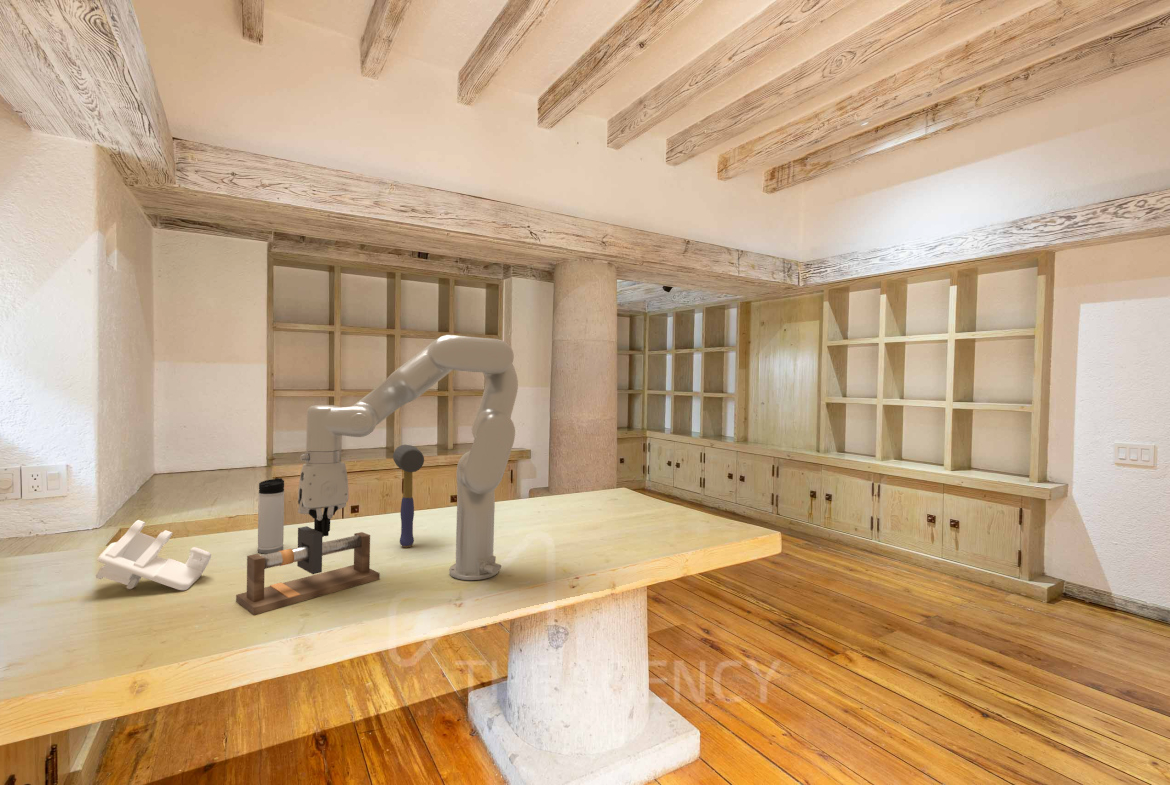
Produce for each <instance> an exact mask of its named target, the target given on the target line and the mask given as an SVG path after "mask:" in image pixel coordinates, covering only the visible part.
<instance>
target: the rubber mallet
mask: <svg viewBox="0 0 1170 785" xmlns="http://www.w3.org/2000/svg"><path fill="white" fill-rule="evenodd" d="M392 458H393V462H394V463H395V465H396V466H397V467H398V468H399V469H400V470H402V471H403V485H402V486H403V490H402V491H403V492H402V494H403V495H402V498H401V502H400V503H401V504H400V522H401V523H400V525H401V527H400V530H401V531H400V533H401V534H400V538H399V544H400V546H401V547H402V548H411V547H412V546H413V544H414V542H415V537H414V530H413V529H414V516H415V503H414V498H413V473H415V472H417V471H419V470H421V469H422V467H423V466H424V464H425V463H424V462H425V456H424V455H423V453H422V451H421V450H420V449H419V448H417V447H416V446H413V445H411V444H402V445H399V446H397V447H396V448H395V449H394V451H393V455H392Z"/></svg>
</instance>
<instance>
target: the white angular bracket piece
mask: <svg viewBox="0 0 1170 785" xmlns="http://www.w3.org/2000/svg"><path fill="white" fill-rule="evenodd" d="M146 523H147V522H145V521H143V520H140V519H137V520H135V522H133V524H132V525H131V526H130V527H129V528H128V529H127V531H126V532H125V533H124V535H123V536H121V538H120V539H119V540H117V541H116V542H111V543H110V544H109V545H108V546H107V547H106V548H105V549H104V550H103V551H102V552H101V553H100V554H99V556H98V557H97V561H98V562H99V563H101V564H103V566H101V567H100V568H99V569H98V571H97V572H96V574H95V578H96V579H98V580H102V579H104V578H105V579H108V580H109V581H110V580H111V581H114V582H115V583H118V584H123V585H125V586H126V589H128V590H132V589H133V588H135V587H136V586H137V585H138V583H139V582H140V581H141V579H142V578H144V579H147V580H150V581H153V582H155V583H157V584H160V585H161V584H162V585H164V586H167V587H169V588H173V589H175V590H178V591H187V590H188V589H190V587H191V586H192V585H193V584H195V583H196V582H197V580H198V579H200V578H201V577H202V575H203V573H204V572H205V570H206V568H207V567H208V565H209V563H210V561H211V558H212V553H210V551H207V550H204V549H202V548H199V547H196V546H193V547H191V548H190V549H189V557H188V559H187V560H186V562H185V563H184V562H181V561H178V560H175V559H172V558H171V557H170V558H169V557H168V558H163V557H160V556H158V555H159V553H160V552H161V551H162V548H163V547H164V545H166V544H167V543H168V541H169V540H170V538H171V537H172V535H173V531H169V530H167V529H165V530H163V531H161V532H160V533H159V534H158V535H157V537H154V536H151V535H148V534H146V533H143V532H142V530H143V528H144V527H145V525H146Z"/></svg>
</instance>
